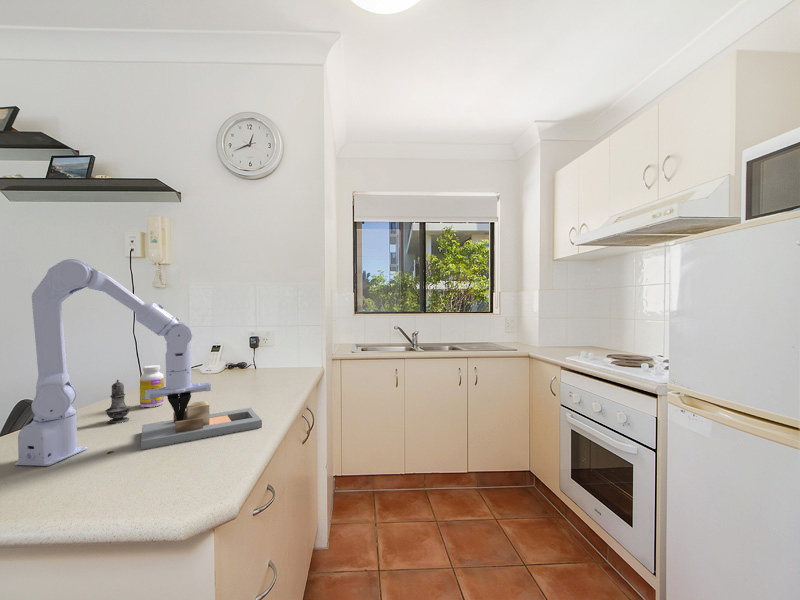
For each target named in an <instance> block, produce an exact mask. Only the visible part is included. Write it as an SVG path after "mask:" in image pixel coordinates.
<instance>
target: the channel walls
mask: <svg viewBox="0 0 800 600" xmlns="http://www.w3.org/2000/svg"><path fill="white" fill-rule="evenodd" d="M173 420H174V423H175V431H176V433H179V432H184V431H190V430H196V429H202V428H203V417H200V418H194V419H188V420H186V410H185V413H184V417H183V420H182V421H177V419H176V415H175V412H174V411H173Z"/></svg>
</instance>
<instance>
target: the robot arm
mask: <svg viewBox="0 0 800 600" xmlns="http://www.w3.org/2000/svg"><path fill="white" fill-rule="evenodd" d="M85 288H87V289H90V290H95V291H99V292H103V293H105V294H107V295H109V296H110V297H111V298H113V299H114V300H116V301H117V302H119V303H120V304H122V305H123V306H125V307H126V308H129V309H130V310H131V311H133V312H134V314H135V321H136V322H138V323H140V324H141V325H142V326H143V327H145V328H147V329H148V330H150V331H151V332H153V333H154V334H155V335H157V336H162V337H164V340H165V342H166V352H165V355H164V356H165V386H164V387H162V388H157V389H151V390H145V398H146V399H151V398H156V397H164V398H165V397H167V401H168V402H169V404H170V406H171V408H172V410H173V412H175V415H176V419H177V421H182V420H183V417H184V413H185V411H186V407H187V405H188V403H190V400H191V398H192V395H191V394H193V393H201V392H212V390H211V389H212V387H211V385H212V384H211V383H210V382H204V383H192V351H191V343H190V342H191V341H192V338H193V334H192V331H191V329H190V327H188V326H187V325H186V324H185V322H180V321H181V318H179V317H178V316H176V317H175V316H173V314H171V313H169V312H168V311H167V310H165V309H164V308H165V306H163V305H162V303H159V304H157V303H155V302H144V301H143V300H141V298H140V297H138V296H136V295H135V294H134V293H132V292H131V291H130V290H128V289H127V288H126V287H125V286H123V285H122V284H120V282H118V281H116V280H115V279H114V278H112V277H111V276H109V275H108V274H106V273H104V272H102V271H100V270H98V269H96V268H94V267H92V266H91V265H89V264H87V263H85V262H84V261H82V260H80V259H76V258H75V259H74V258H68V259H64V260H61V261H60V262H57V263H56V264H55V265H53V266H51V267H49V268H48V269H47V272H46V273H45V276H43V278H42V280H41V281H40V283H39V284H38V285H37V286H36V288H35V289H34V290H33V292H32V293H31V305H32V307H31V308H32V316H33V317H32V318H33V331H34V339H35V351H36V360H37V361H36V363H37V371H38V372H37V374H38V377H37V382H36V385H35V390H36V391H35V397H34V398H33V400H32V402H31V406H30V407H31V411H32V413H33V414H34V416H33V420H32V421H31V422H30V423H29V424H26V425H25V426H23V427H22V428H20V431H19V432H18V437H17V445H18V446H17V449H18V455H17V456H18V461H16V462H15V463H14V465H15V466H39V467H40V466H41V467H42V466H43V467H48V466H52V465H54V464H56V463H58V462H60V461H63V460H65V459H67V458H69V457H72V456H74V455H76V454H79V453H81V452H83V451H86V450H87V449H88V446H79V445H78V422H77V421H78V419H77V418H78V416H77V410H76V409H75V408H74V407H73V406H72V405H73V404H74V403H75V400H76V399H77V391H76V389H75V387H74V386H73V385H72V383H71V377H70V374H69V372H68V363H67V355H66V353H67V352H66V351H67V350H66V341H65V330H64V329H65V328H64V318H63V306H62V304H63V302H64V301H65V300H67V299H68V298H69V297H70V296H72V295H74V293H76V292H78V291H81V290H83V289H85Z"/></svg>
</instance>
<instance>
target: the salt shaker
mask: <svg viewBox="0 0 800 600" xmlns="http://www.w3.org/2000/svg"><path fill="white" fill-rule="evenodd" d="M124 385H125V384H124V383H123V382H120V380H119V379H116V381H115V382H114V383H113V384H111V395H110V396H109V397H110V399H111V404H110V407H108V408H107V409H105V413H106V415H107V417H108V418H110V419H109V420H107V422H106V424H108V425H117V424H116V423H118V424H123V423H126V422H129V421H130V420H129V419H130V418H129V417H126V416H127V415H128V414H129V412H130V409H131V406H130V405H126V402H125V396H126V394H125V386H124ZM128 420H129V421H128ZM125 421H126V422H125ZM122 422H123V423H122Z"/></svg>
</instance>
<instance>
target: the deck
mask: <svg viewBox="0 0 800 600" xmlns="http://www.w3.org/2000/svg"><path fill="white" fill-rule="evenodd" d="M225 415H227V416H228V417H229V418H230V420H231V421H230V422H225V423H219V424H213V425H208V424H207V425H203V428H202V429H196V430H190V431H184V432H179V433H176V431H175V423H174V419H172V420H164V421H158V422H152V423H146V424H142V425H141V439H140V441H141V443H140V445H141V450H142V451H143V450H147V449H153V448H159V447H165V446H169V445H174V443H175V444H181V443H185V442H184V441H186V442H190V441H189V440H191V441H196V440H195V439H197V440H201V438H202V439H206V438H207V437H208V438H213V437H218V436H224V435H228V433H229V434H234V433H238V431H240V432H244V431H243V430H245V431H250V430H255V429H261V428H262V427H263V419H262V418H260V416H258V413H256V412H255V411H254V410H253V409H252V408H251V407H247V408H241V409H234V410H228V411H221V412H215V413H209V418H213V417H219V416H225ZM233 432H234V433H233ZM223 434H224V435H223ZM217 435H218V436H217ZM212 436H213V437H212ZM180 442H181V443H180Z"/></svg>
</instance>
